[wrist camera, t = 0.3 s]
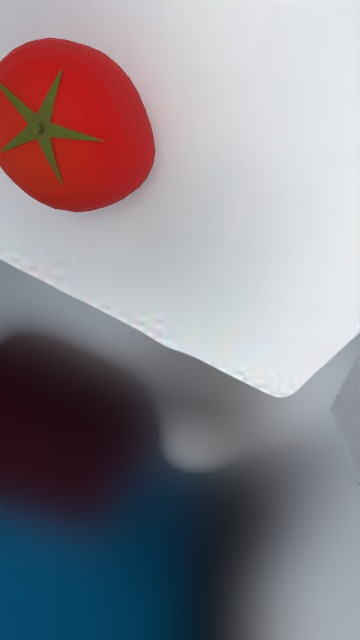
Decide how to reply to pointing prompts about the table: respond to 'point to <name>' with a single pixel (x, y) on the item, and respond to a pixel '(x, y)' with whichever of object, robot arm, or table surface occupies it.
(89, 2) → the table surface
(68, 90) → the tomato
